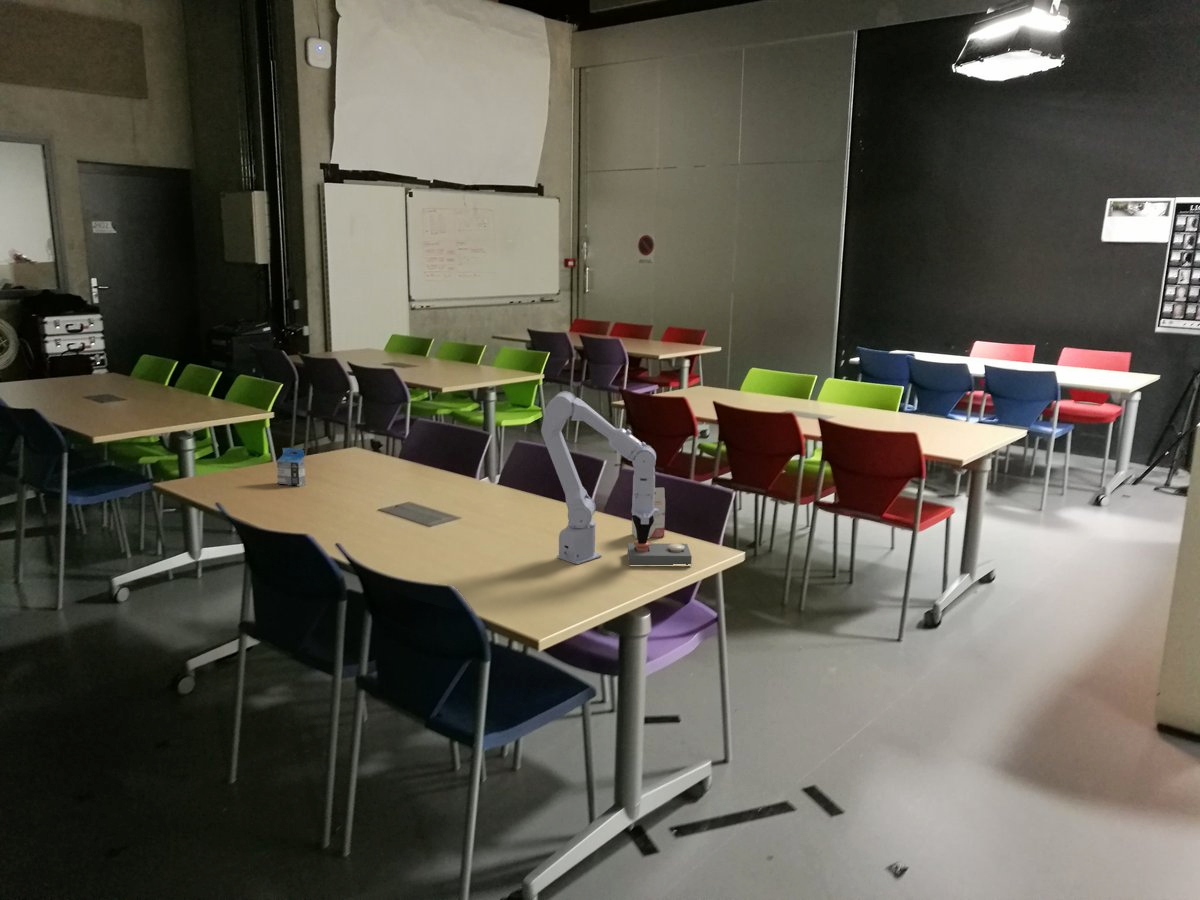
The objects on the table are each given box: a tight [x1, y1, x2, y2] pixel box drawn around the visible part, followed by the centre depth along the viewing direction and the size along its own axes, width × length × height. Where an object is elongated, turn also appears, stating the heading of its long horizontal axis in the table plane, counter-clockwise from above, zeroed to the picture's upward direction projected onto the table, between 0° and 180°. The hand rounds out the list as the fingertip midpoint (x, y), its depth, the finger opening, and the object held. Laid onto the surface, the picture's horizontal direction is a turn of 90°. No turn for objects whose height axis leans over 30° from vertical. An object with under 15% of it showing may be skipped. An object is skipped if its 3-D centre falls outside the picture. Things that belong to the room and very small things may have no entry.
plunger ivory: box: [668, 543, 685, 552], centre depth 232 cm, size 4×4×4 cm
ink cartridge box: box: [631, 487, 666, 538], centre depth 251 cm, size 9×5×15 cm, turn 106°
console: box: [627, 542, 693, 566], centre depth 232 cm, size 16×10×3 cm, turn 91°
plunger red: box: [633, 539, 651, 552], centre depth 231 cm, size 4×4×4 cm
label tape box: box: [276, 447, 306, 487], centre depth 300 cm, size 9×4×12 cm, turn 73°
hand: (642, 542), depth 231 cm, fingers closed, pressing on plunger red
